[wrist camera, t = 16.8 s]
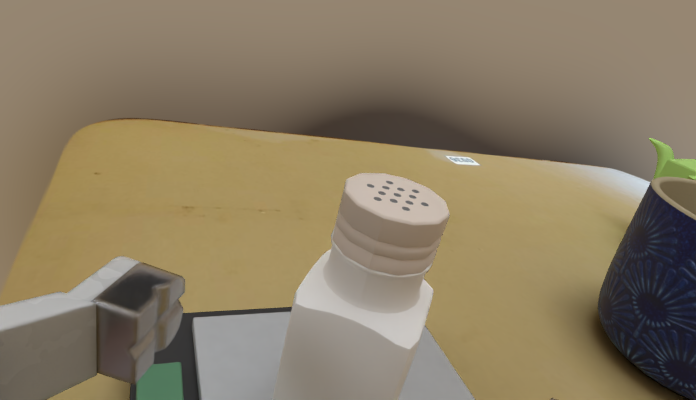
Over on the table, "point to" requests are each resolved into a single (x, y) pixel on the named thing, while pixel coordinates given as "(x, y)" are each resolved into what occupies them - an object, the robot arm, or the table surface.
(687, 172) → the kettle
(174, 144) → the table surface
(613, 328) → the planter
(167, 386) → the scale
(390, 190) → the pepper shaker
